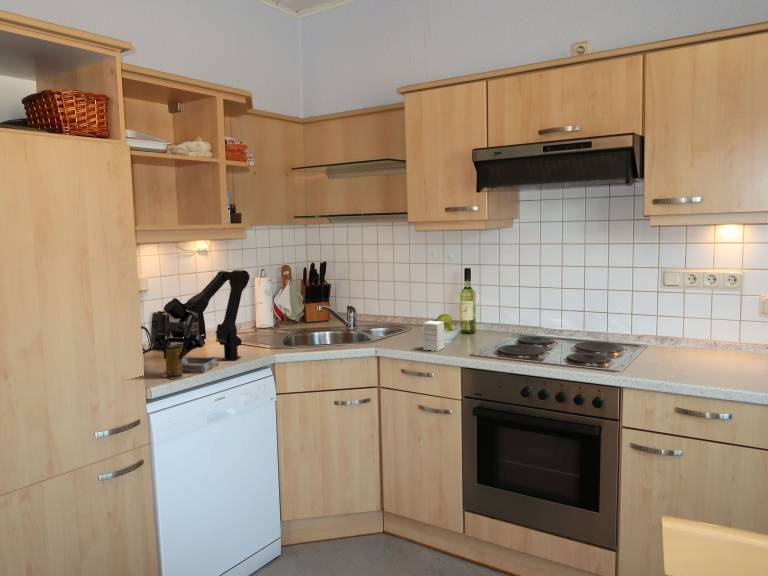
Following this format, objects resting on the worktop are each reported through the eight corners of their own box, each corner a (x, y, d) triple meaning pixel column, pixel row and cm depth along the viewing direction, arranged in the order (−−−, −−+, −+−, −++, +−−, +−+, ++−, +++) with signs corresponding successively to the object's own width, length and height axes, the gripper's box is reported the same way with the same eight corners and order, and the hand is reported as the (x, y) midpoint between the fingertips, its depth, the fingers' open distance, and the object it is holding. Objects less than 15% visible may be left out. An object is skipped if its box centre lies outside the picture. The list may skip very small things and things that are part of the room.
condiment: (178, 372, 249) (176, 343, 247) (189, 376, 243) (188, 345, 242) (161, 376, 243) (159, 346, 242) (172, 379, 238) (171, 348, 236)
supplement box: (430, 347, 287) (429, 320, 285) (444, 348, 283) (444, 321, 281) (422, 350, 280) (422, 322, 279) (437, 352, 276) (437, 323, 275)
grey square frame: (187, 364, 264) (186, 357, 263) (218, 364, 261) (217, 357, 261) (170, 372, 250) (170, 365, 250) (203, 373, 247) (202, 365, 247)
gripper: (155, 313, 247) (141, 346, 237) (199, 314, 244) (186, 347, 234) (166, 329, 255) (153, 362, 246) (209, 330, 252) (197, 363, 243)
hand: (172, 358), depth 242 cm, fingers closed on condiment, 6 cm apart
